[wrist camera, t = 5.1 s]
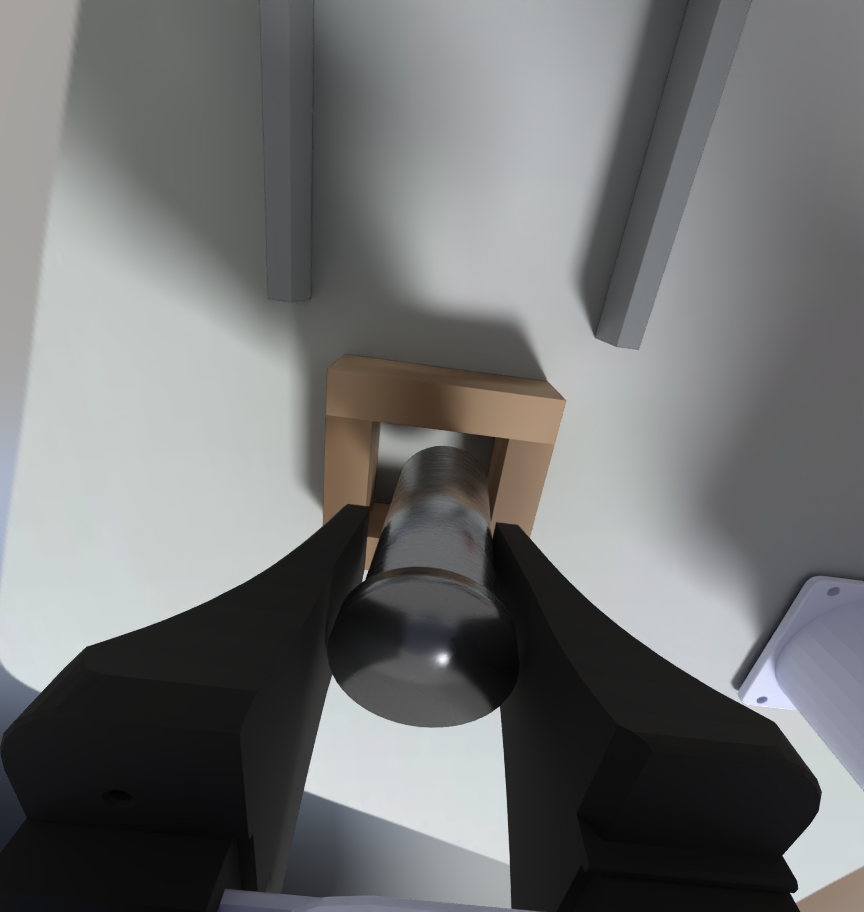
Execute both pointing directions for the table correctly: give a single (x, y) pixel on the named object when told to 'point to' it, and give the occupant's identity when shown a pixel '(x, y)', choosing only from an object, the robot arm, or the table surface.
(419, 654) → the silver cylindrical piece
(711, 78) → the grey u-shaped bracket
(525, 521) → the wooden square frame
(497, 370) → the table surface
